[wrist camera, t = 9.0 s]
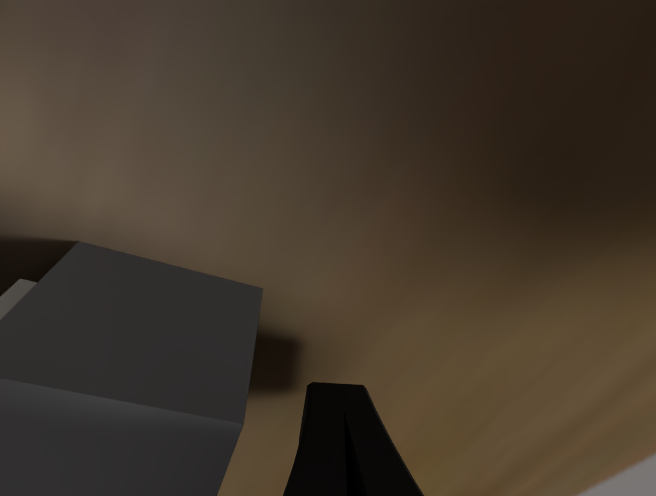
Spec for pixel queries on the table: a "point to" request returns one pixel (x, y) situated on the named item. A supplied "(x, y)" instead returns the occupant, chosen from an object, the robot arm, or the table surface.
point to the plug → (122, 377)
